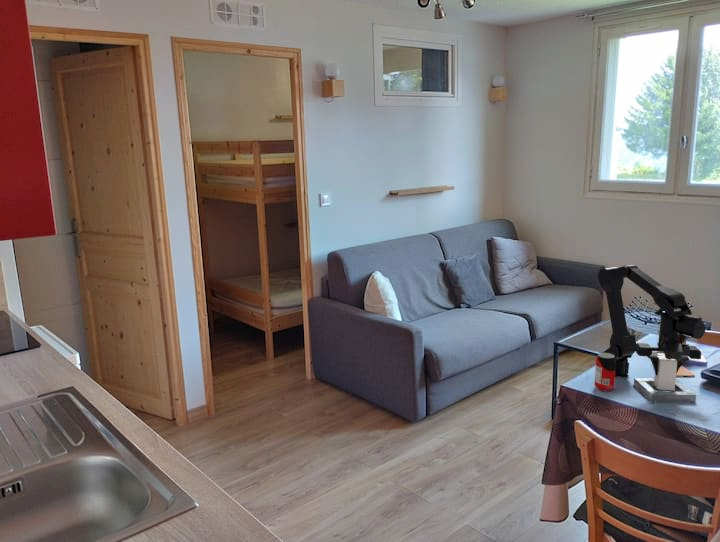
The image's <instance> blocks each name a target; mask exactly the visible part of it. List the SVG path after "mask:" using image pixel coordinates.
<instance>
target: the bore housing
mask: <svg viewBox="0 0 720 542" xmlns="http://www.w3.org/2000/svg"><path fill="white" fill-rule="evenodd" d="M633 386H634V387H635V388H636V389H637V388H638V389H639V390H638V389H637V390H638V391H639V392H640V393H642V394H643V395H644V396H645V395H646V396H647V397H648V398H649V399H650V400H651V401H654V402H653V403H696V400H697V394H696V393H695V392H693V391H692V390H691V389H689V388H688V387H687V386H686V385H684V384H683V383H682V382H681V381H680V380H678V379H677V378H676V381H675V390H673V391H656V390H655V389H657V387H656V386H655V384H654V378H653V377H647V378H646V377H645V378H644V377H642V378H641V377H635V378H633ZM646 396H645V397H646ZM647 397H646V398H647ZM648 398H647V399H648ZM649 399H648V400H649ZM650 400H649V401H650ZM651 401H650V402H651ZM655 401H656V402H655Z"/></svg>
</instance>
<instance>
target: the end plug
mask: <svg viewBox="0 0 720 542" xmlns="http://www.w3.org/2000/svg"><path fill="white" fill-rule="evenodd" d="M657 357H658V358H659V359H658V374H657V375H656V374H655V373H654V375H653V376H654V384H655V386H656V387H657V388H656V389H658V390H663V391H674V390H675V381H676V379H677V377H676V370H677V361H676V360H675V359H667V358H665V355H657Z"/></svg>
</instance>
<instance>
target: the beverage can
mask: <svg viewBox="0 0 720 542" xmlns="http://www.w3.org/2000/svg"><path fill="white" fill-rule="evenodd" d="M614 357H615V356H614V355H613V354H610V353H603V352H599V353H598V354H597V357H596V358H595V370H594V372H595V373H594V383H593V384H594V386H595V387H596V389H597V388H598V390H599V389H600V390H599V391H602V390H604V391H603V392H610V391H612V390H613V389H615V383H616V382H615V380H616V377H615V371H616V360H615V358H614ZM609 390H610V391H609Z"/></svg>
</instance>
